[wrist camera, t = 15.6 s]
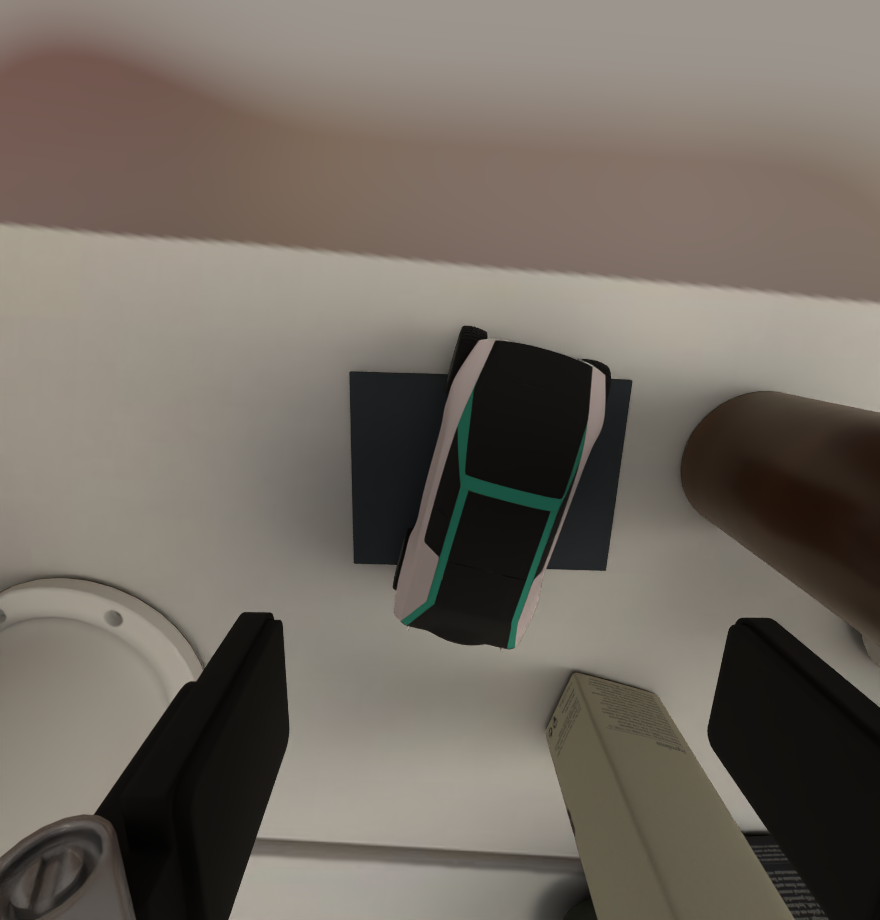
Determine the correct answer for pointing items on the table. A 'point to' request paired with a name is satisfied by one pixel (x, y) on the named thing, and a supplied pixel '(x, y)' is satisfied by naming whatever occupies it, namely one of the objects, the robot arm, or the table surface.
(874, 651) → the can
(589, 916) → the grenade
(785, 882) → the small box
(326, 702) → the table surface
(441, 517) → the toy car
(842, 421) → the pepper mill
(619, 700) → the box
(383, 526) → the mat
